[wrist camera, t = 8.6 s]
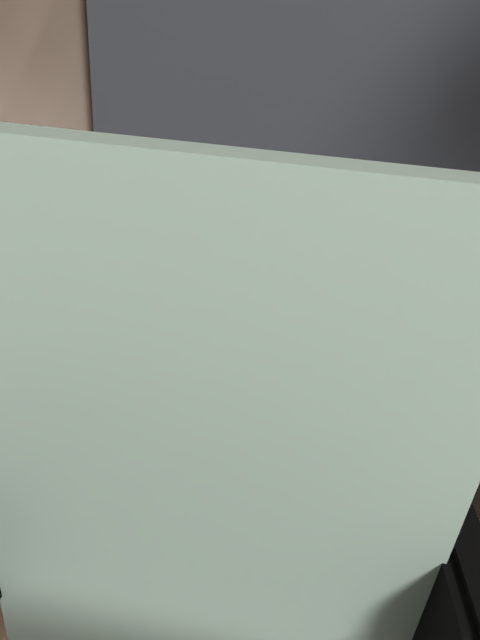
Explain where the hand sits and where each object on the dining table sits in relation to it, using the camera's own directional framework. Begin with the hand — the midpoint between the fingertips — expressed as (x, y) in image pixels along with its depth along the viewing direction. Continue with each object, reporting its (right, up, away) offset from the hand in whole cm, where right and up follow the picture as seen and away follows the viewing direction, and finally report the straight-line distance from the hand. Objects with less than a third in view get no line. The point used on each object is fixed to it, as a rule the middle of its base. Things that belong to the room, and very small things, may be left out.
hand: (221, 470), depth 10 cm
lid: (0, 0, 0) cm, 0 cm away
